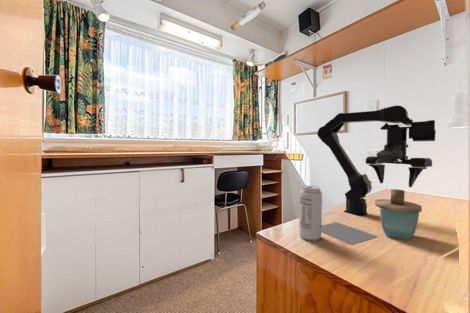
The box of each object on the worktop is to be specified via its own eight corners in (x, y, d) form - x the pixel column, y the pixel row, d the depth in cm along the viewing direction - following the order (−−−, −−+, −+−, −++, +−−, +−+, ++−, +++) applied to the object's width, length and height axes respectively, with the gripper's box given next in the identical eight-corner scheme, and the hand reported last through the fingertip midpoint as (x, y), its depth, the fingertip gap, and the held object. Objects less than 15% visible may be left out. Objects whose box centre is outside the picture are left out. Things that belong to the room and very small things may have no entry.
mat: (311, 229, 70) (311, 227, 70) (336, 223, 76) (336, 222, 76) (352, 246, 58) (352, 244, 58) (378, 237, 63) (378, 236, 63)
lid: (367, 205, 66) (367, 188, 66) (386, 200, 71) (387, 185, 71) (410, 214, 56) (411, 195, 56) (428, 209, 62) (429, 191, 62)
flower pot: (418, 245, 58) (419, 212, 58) (379, 238, 63) (380, 208, 63) (413, 234, 66) (414, 205, 65) (378, 229, 70) (379, 201, 70)
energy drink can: (325, 241, 60) (326, 188, 60) (305, 243, 59) (306, 189, 59) (313, 233, 66) (314, 185, 66) (295, 235, 65) (296, 185, 65)
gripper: (357, 142, 82) (356, 183, 82) (416, 140, 65) (415, 191, 66) (374, 142, 87) (373, 181, 88) (433, 141, 70) (432, 188, 71)
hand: (395, 185), depth 78 cm, fingers open, 9 cm apart
